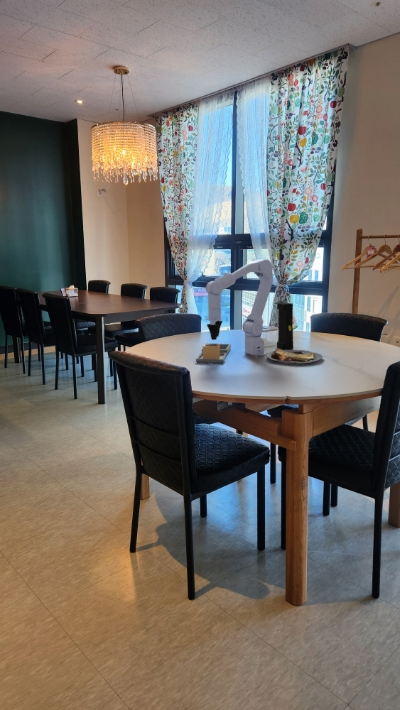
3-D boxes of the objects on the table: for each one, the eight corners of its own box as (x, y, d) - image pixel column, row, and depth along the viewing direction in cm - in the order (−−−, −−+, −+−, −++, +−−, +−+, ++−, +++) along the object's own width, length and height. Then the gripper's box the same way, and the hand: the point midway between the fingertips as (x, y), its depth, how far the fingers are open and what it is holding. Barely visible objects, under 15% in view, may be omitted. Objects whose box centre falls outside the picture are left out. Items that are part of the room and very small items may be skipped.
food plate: (257, 362, 208) (257, 354, 207) (275, 352, 228) (275, 345, 227) (314, 369, 196) (315, 361, 196) (327, 358, 217) (328, 350, 216)
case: (206, 350, 236) (206, 343, 236) (230, 350, 234) (230, 344, 234) (201, 356, 223) (201, 349, 222) (227, 356, 221) (227, 349, 220)
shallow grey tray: (201, 356, 223) (201, 351, 222) (227, 356, 221) (227, 352, 220) (195, 363, 209) (195, 359, 208) (223, 364, 206) (223, 359, 206)
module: (204, 357, 217) (204, 342, 216) (219, 357, 216) (219, 343, 214) (202, 359, 212) (202, 345, 211) (218, 359, 211) (218, 345, 210)
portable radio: (295, 349, 232) (296, 298, 227) (284, 351, 230) (285, 299, 225) (286, 347, 239) (287, 297, 234) (276, 348, 237) (276, 297, 232)
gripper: (208, 306, 221) (208, 335, 224) (203, 310, 207) (203, 341, 210) (223, 306, 220) (223, 335, 223) (219, 310, 206) (219, 341, 209)
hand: (215, 338), depth 216 cm, fingers open, 7 cm apart
